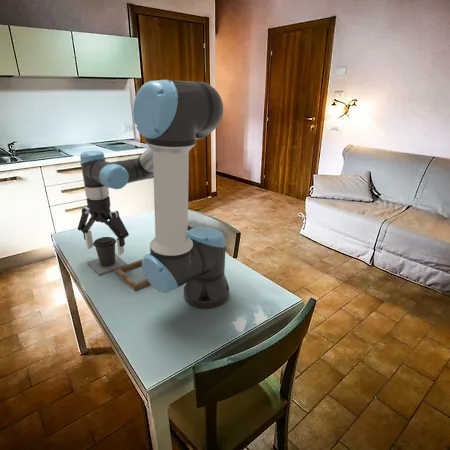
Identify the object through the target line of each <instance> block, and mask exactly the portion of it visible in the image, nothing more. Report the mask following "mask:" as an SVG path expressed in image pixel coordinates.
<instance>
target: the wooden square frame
mask: <svg viewBox="0 0 450 450" xmlns="http://www.w3.org/2000/svg"><path fill="white" fill-rule="evenodd" d="M139 267H142V259H139V260H136V261H134V262H130V263H127V265H125V266H122V267H119V268H116V270H115V274H116V275H117V276H118V277H119V278H120V279H121V280H123V282H124V283H126V285H128V286H129V287H130V288H131V289H132V290H133V291H134V292H136V291H139V290H141V289H144V288H147V287H148V286H152V285H151V284H150V282H149V281H148V279H147V278H146V279H144V280H141V281H138V282H135V281H134V280H133V279H132V278H131V277H129V276H128V275H127V274H126V273H127V272H129V271H131V270H135V269H137V268H139Z"/></svg>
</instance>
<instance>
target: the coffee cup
mask: <svg viewBox="0 0 450 450" xmlns="http://www.w3.org/2000/svg"><path fill="white" fill-rule="evenodd" d="M116 244H117V241H116V238H115V237H112V236H102V237H99V238H96V239H95V240H93V247H95V250H96V255H97V259H98V258H99V261H100V265H101V266H104V267H108V266H112V265H113V264H114V263H115V254H116Z"/></svg>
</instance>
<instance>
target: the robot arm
mask: <svg viewBox="0 0 450 450" xmlns="http://www.w3.org/2000/svg"><path fill="white" fill-rule="evenodd" d="M223 103H224V102H223V100H222V97H221V95H220V94H219V92H218V91H217V89H216V88H215V87H213V86H212V85H211V84H209V83H206V82H203V81H197V80H196V81H188V80H187V81H186V80H173V79H172V80H170V79H160V80H159V79H158V80H149V81H147V82H145V83H144V84H142V85H141V87H140V88H139V90H138V91H137V92H136V95H135V97H134V100H133V108H132V110H133V111H132V116H133V117H132V118H133V121H134V122H133V123H134V124H135V125H136V130H137V131H138V133H139V134H140V135H141V136H142V137H144V138H145V144H146V145H147V146H148V147H147V149H145V150H144V151H143V153H141V154H140V155H139V156H138V157H135V158H129V159H121V160H116V161H106V157H105V154H104V152H103V151H101V150H87V151H84V152H81V153H80V155H79V157H80V158H79V159H80V166H81V172H82V178H83V184H84V192H85V197H86V204H87V206H84V207H82V208H81V215H80V219H79V223H78V226H77V230H78V231H81V232H82V234H83V238H84V240H85V244H86V249H87V250H90V249H91V248H93V247H94V245H93V243H94V240H93V235H92V230H91V228H92V226H93V225H94V224H95V222H97V223H101V224H105V225H106V226H108V228H109V229H110V230H111V231H112V233H113V234H114V235H115V236H116V238H115V240H116V247H117V248H116V250H117V256H121V255H123V253H125V247H124V246H125V245H126V241H125V239H126V238H127V237H129V236H130V233H129V232H128V230H127V228H126V226H125V224H124V222H123V221H122V219H121V217H120V214H119V213H120V212H119V211H118V210H115V211H112V210H111V198H110V196H109V195H110V191H109V190H110V189H114V190H120V189H123V188H124V187H126V186H127V184H130V183H135V182H139V181H144V180H149V179H150V180H152V179H153V196H154V198H153V200H154V201H153V202H154V203H153V204H154V205H153V206H154V232H155V233H154V234H155V235H154V238H153V239H152V240H151V241H150V243H149V254H146V255H145V256H144V257H143V258H142V259H141V260H142V266H141V267H142V271H143V274H144V276H145V277H146V279H148V281H149V282H150V284H151V285H150V286H152V287H153V288H154V289H155V290H157V291H158V292H160V293H163V294H164V293H169V292H171V291H173V290H177V289H178V288H180V287H181V286H183V285H184V287H183V298H184V300H185V302H186V303H187V304H189V305H190V306H193V307H196V308H199V309H214V308H216V307H217V308H218V307H220V306H222V305H224V304H225V303H226V302H227V301H228V299H229V297H230V287H229V284H228V280H227V278H226V274H225V269H226V249H227V248H226V247H227V244H226V236H225V234H224V233H223V232H222V231H220V230H218V229H216V228H213V227H206V226H205V227H204V226H199V227H193V228H191V229H188V227H189V226H188V225H189V177H190V176H189V175H190V174H189V172H190V171H189V170H190V169H189V168H190V151H191V150H192V149H193V148H194V147H195V146H196V140H202V139H204V138H206V137H207V136H209V135H210V134H211V133H213V131H214V130H215V129H216V128H217V127H218V126H219V125H220V124H221V121H222V119H223V115H224V104H223ZM109 188H110V189H109ZM89 215H90V218H89ZM88 218H89V219H88Z"/></svg>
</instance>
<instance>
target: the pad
mask: <svg viewBox="0 0 450 450" xmlns="http://www.w3.org/2000/svg"><path fill="white" fill-rule="evenodd" d="M86 263H87V265H88V266H89V268H91V269H92V270H93V271H94V272H95V273H96V274H97V275H98V276H99V277H100V276H102V275H103V276H104V275H106V274H108V273H111V272H115V271H116V268H119V267H122V266H125V265H127V264H128V263H127V262H126V261H124V260H123V259H122V258H121V257H120V255H118V254H116V253H115V263H114V264H113V265H112V266H108V267H104V266H101V265H100V261H99V258H98V257H97V258H95V259H93V260H89V261H87V262H86Z"/></svg>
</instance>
